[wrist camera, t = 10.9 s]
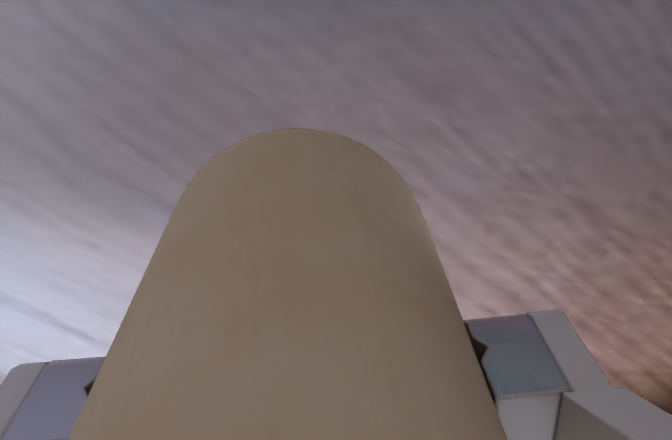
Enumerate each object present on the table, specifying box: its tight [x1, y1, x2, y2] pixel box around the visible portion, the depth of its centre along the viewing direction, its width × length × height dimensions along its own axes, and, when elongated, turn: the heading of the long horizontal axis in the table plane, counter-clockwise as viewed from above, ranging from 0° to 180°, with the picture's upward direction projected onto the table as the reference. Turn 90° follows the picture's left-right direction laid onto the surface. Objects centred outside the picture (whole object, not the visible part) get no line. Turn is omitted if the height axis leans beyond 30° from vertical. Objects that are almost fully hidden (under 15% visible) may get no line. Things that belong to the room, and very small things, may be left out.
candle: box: [68, 128, 508, 440], centre depth 8 cm, size 6×6×10 cm
